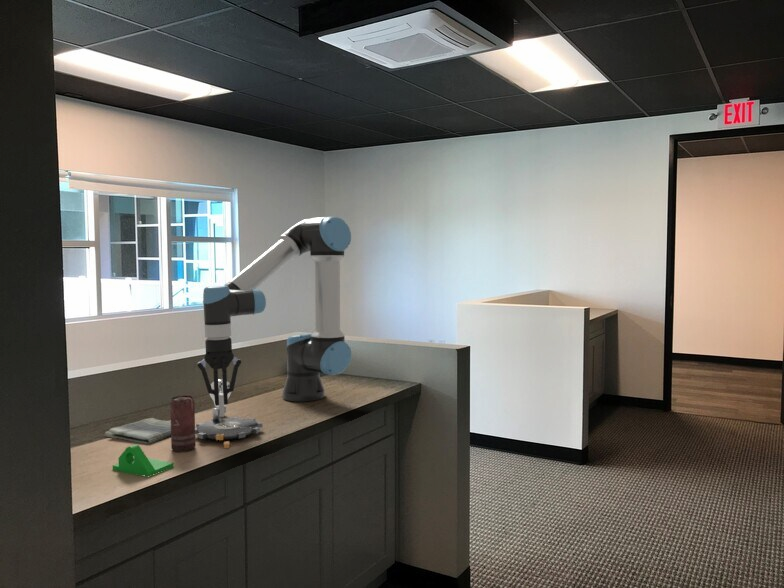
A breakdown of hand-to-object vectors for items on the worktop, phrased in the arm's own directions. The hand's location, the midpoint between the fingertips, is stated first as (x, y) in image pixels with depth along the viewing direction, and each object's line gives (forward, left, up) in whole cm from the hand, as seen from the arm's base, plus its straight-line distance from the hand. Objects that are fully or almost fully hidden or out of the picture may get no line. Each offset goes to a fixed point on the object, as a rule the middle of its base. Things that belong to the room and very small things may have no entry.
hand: (221, 415), depth 186 cm
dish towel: (+21, -2, -5) cm, 21 cm away
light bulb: (0, -14, -4) cm, 15 cm away
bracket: (+20, +30, -4) cm, 37 cm away
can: (+11, +18, -4) cm, 21 cm away
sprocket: (-1, +8, -2) cm, 8 cm away
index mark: (0, +19, -4) cm, 20 cm away
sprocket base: (-1, +8, -4) cm, 9 cm away
